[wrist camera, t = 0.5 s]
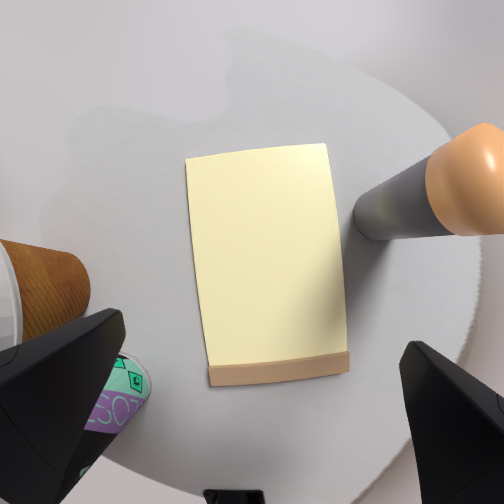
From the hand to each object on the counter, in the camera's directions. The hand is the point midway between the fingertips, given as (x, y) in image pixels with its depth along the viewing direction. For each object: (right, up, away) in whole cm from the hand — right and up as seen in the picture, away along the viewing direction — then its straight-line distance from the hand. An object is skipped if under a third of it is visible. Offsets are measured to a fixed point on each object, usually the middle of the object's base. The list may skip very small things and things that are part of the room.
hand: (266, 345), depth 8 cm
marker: (+10, +6, +13) cm, 17 cm away
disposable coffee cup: (-18, -1, +15) cm, 23 cm away
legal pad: (+1, +2, +13) cm, 14 cm away
